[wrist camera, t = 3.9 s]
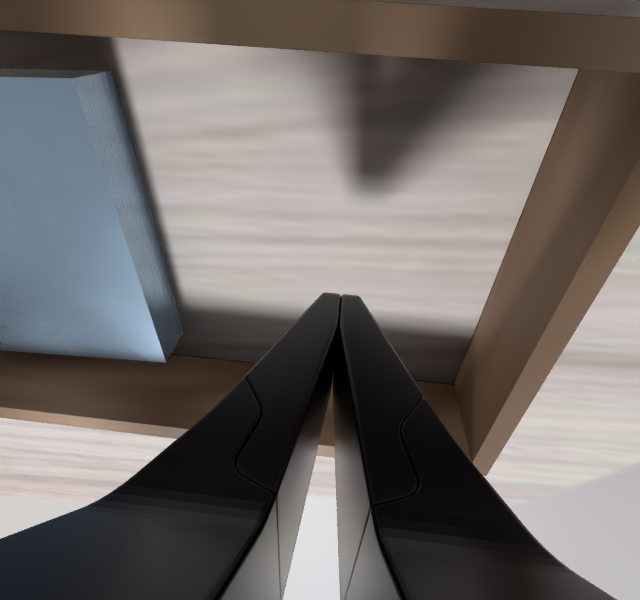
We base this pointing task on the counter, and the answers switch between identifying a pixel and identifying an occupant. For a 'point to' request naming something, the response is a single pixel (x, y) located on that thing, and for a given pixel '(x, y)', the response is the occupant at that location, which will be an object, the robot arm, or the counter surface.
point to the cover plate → (77, 225)
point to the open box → (522, 255)
